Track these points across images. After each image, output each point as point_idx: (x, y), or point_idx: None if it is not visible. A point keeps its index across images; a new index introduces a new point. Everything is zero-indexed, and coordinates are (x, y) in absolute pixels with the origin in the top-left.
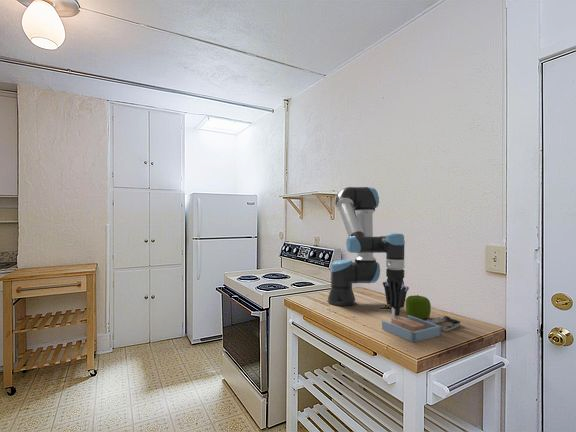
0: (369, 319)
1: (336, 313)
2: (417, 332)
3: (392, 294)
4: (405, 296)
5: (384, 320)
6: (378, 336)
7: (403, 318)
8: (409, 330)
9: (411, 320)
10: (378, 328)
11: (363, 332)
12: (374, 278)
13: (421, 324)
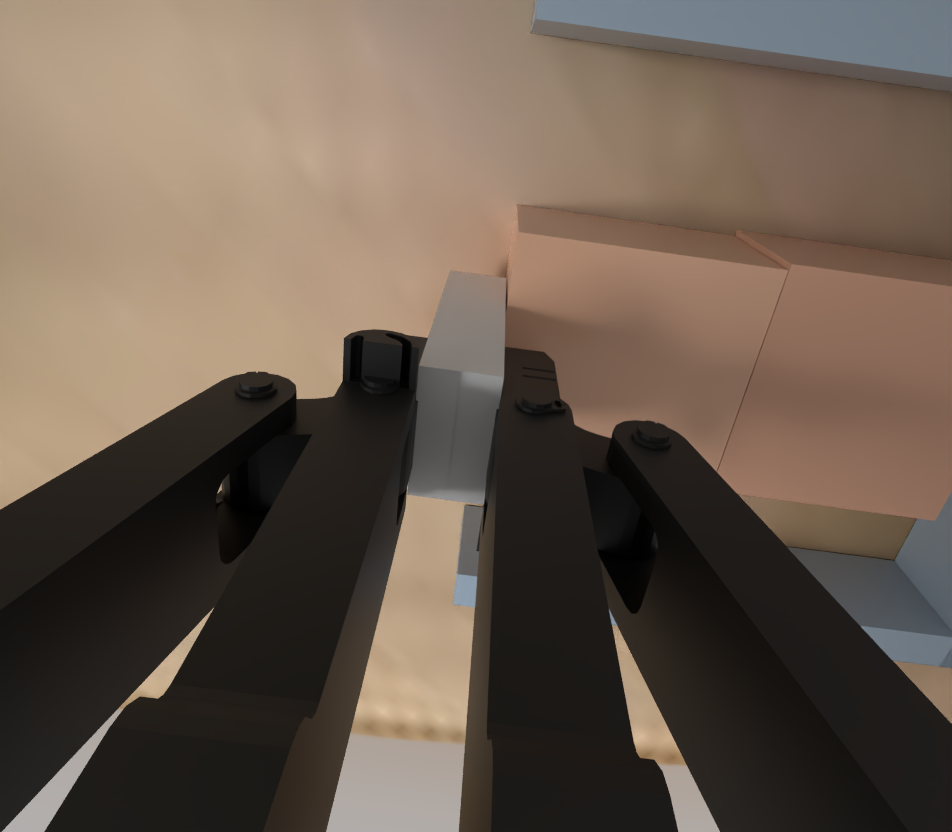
0: (103, 387)
1: None
2: None
3: (343, 759)
4: (912, 710)
5: (466, 578)
6: None
7: (610, 305)
8: (906, 634)
9: (771, 285)
10: (424, 546)
11: (423, 714)
12: None
13: None
